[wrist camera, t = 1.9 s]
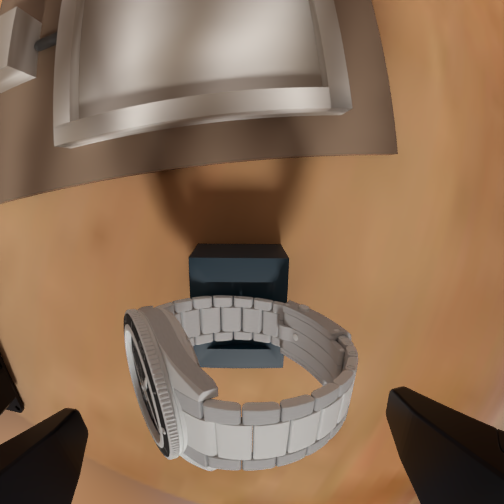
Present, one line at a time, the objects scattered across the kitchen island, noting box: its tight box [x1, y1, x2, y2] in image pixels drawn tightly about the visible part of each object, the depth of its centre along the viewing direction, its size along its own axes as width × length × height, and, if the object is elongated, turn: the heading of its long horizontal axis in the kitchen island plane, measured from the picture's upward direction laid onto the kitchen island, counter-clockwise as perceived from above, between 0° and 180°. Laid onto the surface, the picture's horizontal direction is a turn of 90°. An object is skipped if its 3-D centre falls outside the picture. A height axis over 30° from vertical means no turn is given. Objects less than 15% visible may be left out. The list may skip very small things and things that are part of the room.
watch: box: [124, 244, 358, 471], centre depth 12 cm, size 6×8×11 cm
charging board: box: [0, 0, 398, 204], centre depth 12 cm, size 24×18×4 cm
